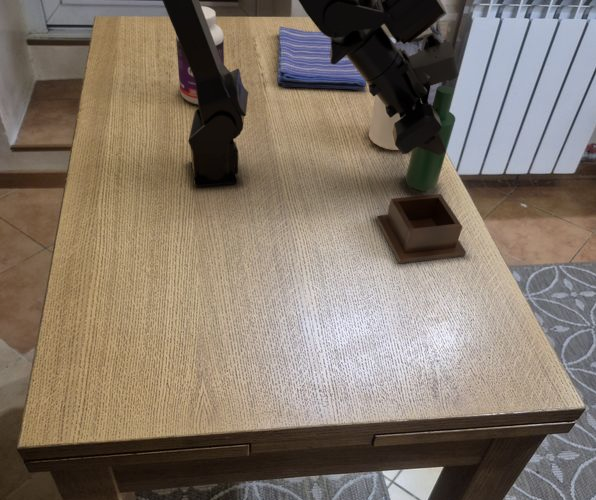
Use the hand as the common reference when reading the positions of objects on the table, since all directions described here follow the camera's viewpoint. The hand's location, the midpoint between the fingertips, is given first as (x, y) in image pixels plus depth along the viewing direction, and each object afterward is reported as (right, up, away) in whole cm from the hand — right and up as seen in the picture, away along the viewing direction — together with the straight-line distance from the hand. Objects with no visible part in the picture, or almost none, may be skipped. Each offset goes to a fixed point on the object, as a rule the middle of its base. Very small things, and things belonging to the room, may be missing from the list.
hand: (440, 143), depth 92 cm
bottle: (-2, -4, +5) cm, 7 cm away
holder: (-4, -15, -3) cm, 15 cm away
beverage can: (-5, +5, +15) cm, 16 cm away
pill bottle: (-39, +15, +20) cm, 46 cm away
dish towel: (-17, +27, +32) cm, 45 cm away
